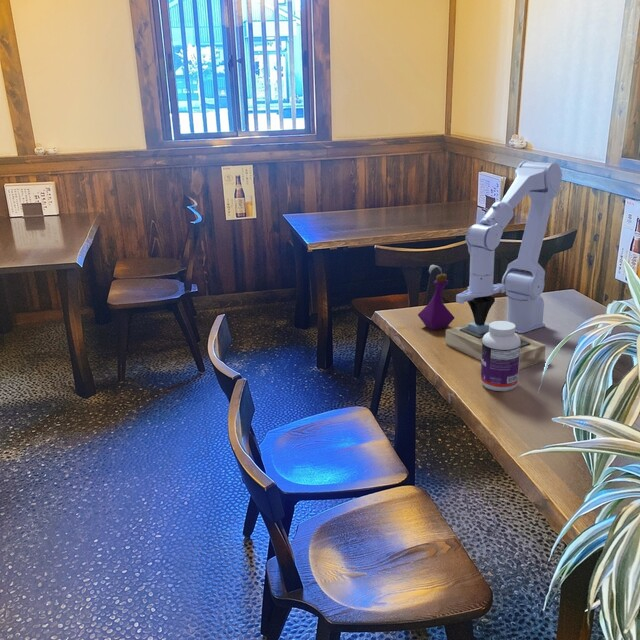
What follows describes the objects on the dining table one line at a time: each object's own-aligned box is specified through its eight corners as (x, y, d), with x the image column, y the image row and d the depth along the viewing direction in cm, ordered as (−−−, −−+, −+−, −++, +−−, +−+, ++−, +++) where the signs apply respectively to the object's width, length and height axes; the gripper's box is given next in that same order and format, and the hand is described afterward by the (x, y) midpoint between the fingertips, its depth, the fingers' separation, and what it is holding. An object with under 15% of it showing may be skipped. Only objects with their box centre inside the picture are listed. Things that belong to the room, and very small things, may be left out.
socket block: (479, 333, 168) (480, 318, 166) (544, 360, 150) (545, 343, 148) (445, 344, 162) (445, 328, 161) (508, 373, 144) (509, 356, 143)
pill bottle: (483, 375, 144) (485, 317, 139) (519, 379, 141) (523, 320, 136) (478, 390, 137) (480, 330, 132) (516, 395, 134) (519, 333, 129)
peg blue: (479, 335, 162) (480, 320, 160) (490, 340, 159) (491, 324, 157) (467, 339, 160) (468, 323, 159) (478, 343, 157) (479, 328, 155)
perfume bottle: (439, 320, 178) (440, 259, 172) (454, 328, 172) (456, 266, 166) (417, 325, 176) (417, 264, 170) (431, 333, 169) (432, 270, 163)
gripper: (491, 264, 160) (489, 313, 164) (448, 274, 153) (447, 326, 158) (512, 270, 154) (509, 321, 159) (468, 281, 147) (466, 334, 152)
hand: (479, 324), depth 158 cm, fingers closed, pressing on peg blue
